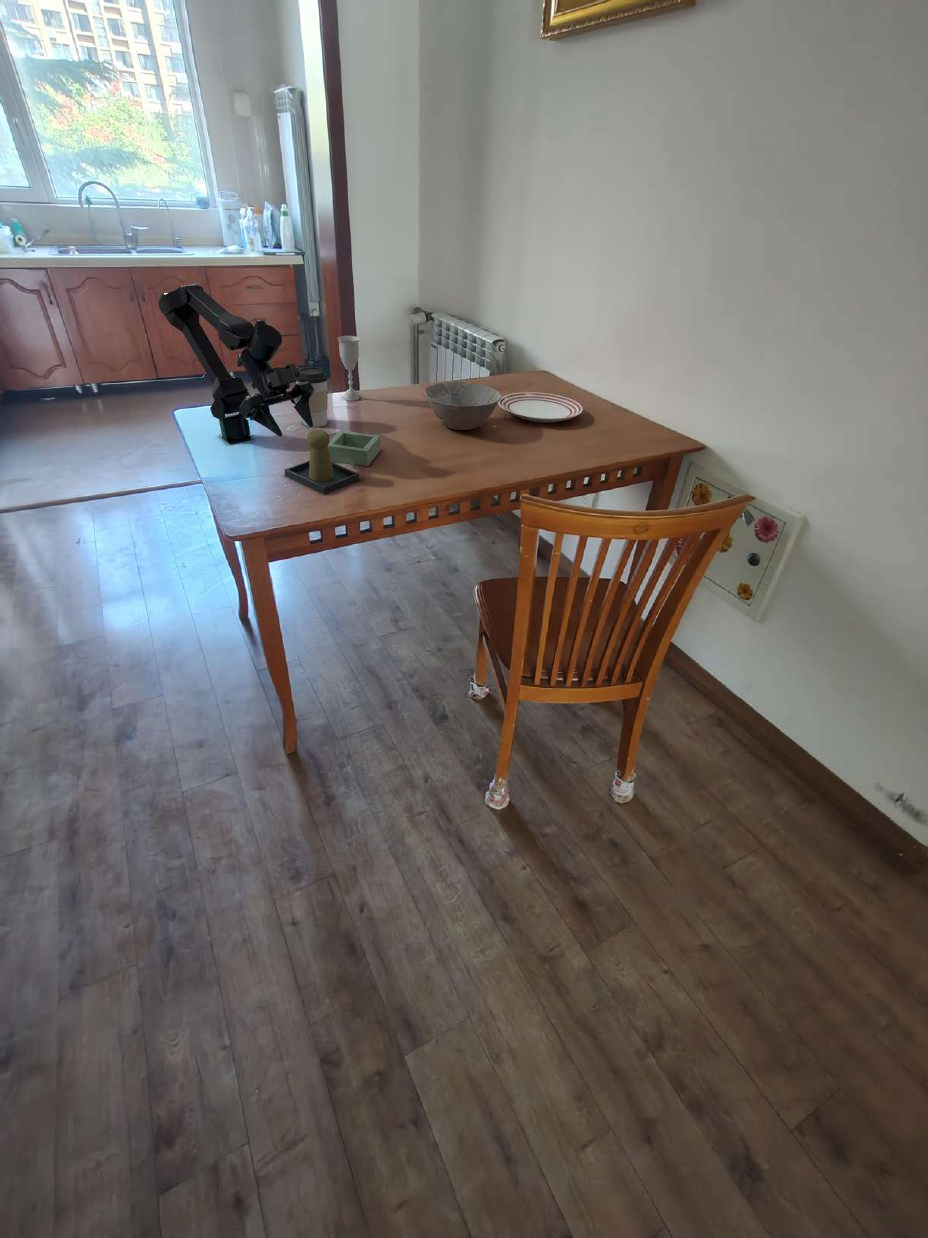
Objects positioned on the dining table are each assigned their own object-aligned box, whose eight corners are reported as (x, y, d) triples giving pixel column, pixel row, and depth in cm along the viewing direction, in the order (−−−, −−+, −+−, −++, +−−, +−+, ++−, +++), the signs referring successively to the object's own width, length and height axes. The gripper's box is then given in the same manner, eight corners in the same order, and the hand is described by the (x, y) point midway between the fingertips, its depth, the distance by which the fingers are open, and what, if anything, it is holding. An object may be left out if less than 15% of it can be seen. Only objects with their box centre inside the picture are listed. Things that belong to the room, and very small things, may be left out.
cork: (338, 473, 146) (335, 429, 139) (327, 483, 141) (323, 438, 135) (316, 468, 147) (312, 425, 140) (304, 478, 142) (299, 433, 136)
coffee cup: (313, 430, 168) (308, 375, 159) (292, 422, 172) (286, 368, 163) (337, 422, 174) (333, 369, 165) (316, 414, 178) (311, 362, 169)
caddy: (326, 460, 153) (324, 445, 150) (341, 444, 162) (340, 430, 159) (367, 466, 152) (367, 451, 149) (380, 450, 160) (380, 435, 158)
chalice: (344, 393, 196) (340, 334, 185) (364, 395, 195) (362, 336, 184) (338, 400, 190) (334, 340, 179) (358, 402, 190) (356, 342, 179)
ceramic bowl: (513, 429, 180) (517, 396, 174) (459, 446, 166) (461, 410, 160) (462, 408, 192) (465, 376, 185) (408, 422, 178) (408, 388, 172)
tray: (284, 475, 144) (284, 469, 143) (320, 462, 151) (319, 456, 150) (324, 494, 138) (324, 487, 137) (359, 480, 145) (359, 473, 144)
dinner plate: (480, 408, 193) (480, 398, 191) (536, 395, 208) (537, 385, 206) (542, 435, 178) (544, 424, 176) (598, 418, 193) (600, 408, 191)
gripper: (238, 359, 128) (277, 423, 130) (306, 346, 140) (341, 404, 142) (223, 387, 137) (260, 447, 138) (288, 372, 149) (321, 428, 151)
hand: (297, 431), depth 142 cm, fingers open, 9 cm apart
